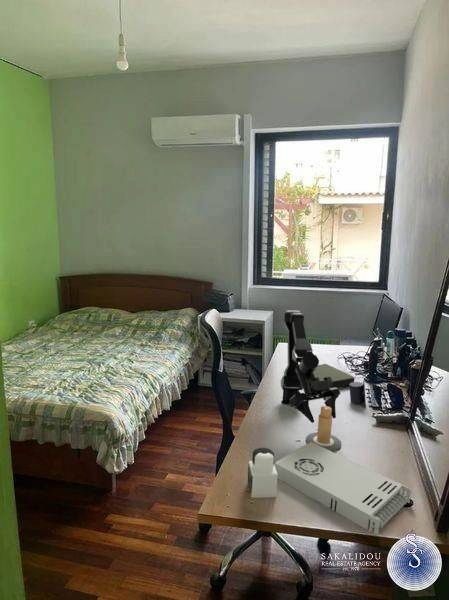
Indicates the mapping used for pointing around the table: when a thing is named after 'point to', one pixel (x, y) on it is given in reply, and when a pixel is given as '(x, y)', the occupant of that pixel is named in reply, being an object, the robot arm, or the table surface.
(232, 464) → the table surface
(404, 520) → the table surface
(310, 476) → the power supply unit
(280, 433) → the table surface
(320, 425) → the wooden bottle
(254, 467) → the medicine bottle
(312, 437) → the charcoal pad
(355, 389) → the speaker
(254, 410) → the table surface
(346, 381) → the network switch
